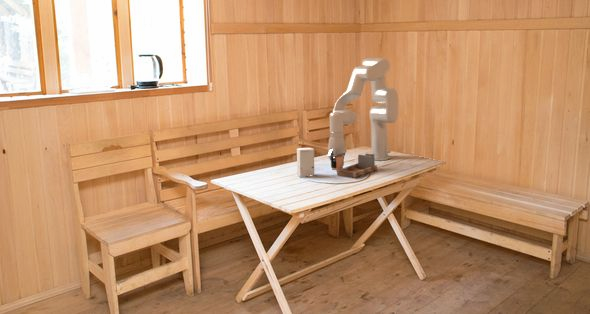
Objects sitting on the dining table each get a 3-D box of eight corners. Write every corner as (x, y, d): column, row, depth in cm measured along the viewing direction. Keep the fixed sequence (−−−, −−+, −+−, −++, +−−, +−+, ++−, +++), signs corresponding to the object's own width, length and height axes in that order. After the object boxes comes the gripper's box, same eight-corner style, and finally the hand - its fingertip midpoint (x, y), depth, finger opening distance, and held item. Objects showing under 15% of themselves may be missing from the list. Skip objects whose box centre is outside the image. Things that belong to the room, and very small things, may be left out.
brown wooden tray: (358, 168, 313) (358, 162, 313) (376, 170, 305) (376, 165, 305) (337, 175, 299) (336, 170, 298) (355, 178, 291) (355, 173, 290)
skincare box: (300, 177, 297) (299, 150, 294) (296, 175, 303) (295, 148, 300) (315, 176, 300) (314, 148, 296) (311, 173, 305) (310, 146, 302)
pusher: (364, 165, 314) (364, 153, 312) (377, 167, 308) (377, 154, 307) (358, 167, 310) (358, 154, 308) (371, 169, 304) (370, 156, 303)
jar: (336, 167, 316) (336, 152, 314) (345, 169, 312) (345, 153, 310) (329, 170, 312) (329, 154, 310) (338, 171, 307) (338, 155, 306)
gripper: (340, 131, 316) (341, 162, 320) (321, 136, 304) (322, 168, 308) (351, 132, 312) (352, 164, 315) (332, 137, 299) (333, 170, 303)
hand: (337, 166), depth 311 cm, fingers closed on jar, 6 cm apart
